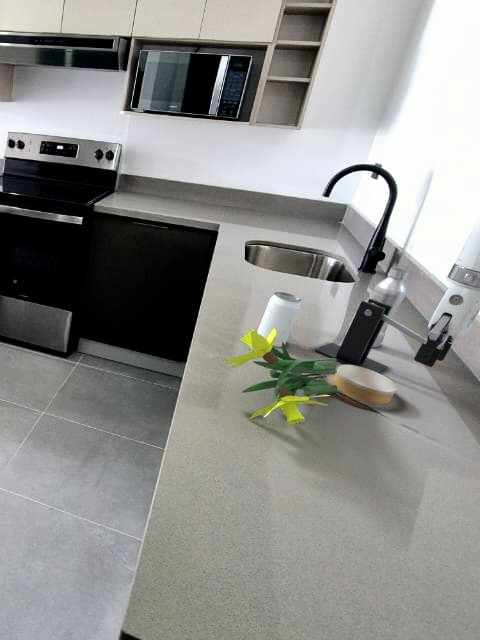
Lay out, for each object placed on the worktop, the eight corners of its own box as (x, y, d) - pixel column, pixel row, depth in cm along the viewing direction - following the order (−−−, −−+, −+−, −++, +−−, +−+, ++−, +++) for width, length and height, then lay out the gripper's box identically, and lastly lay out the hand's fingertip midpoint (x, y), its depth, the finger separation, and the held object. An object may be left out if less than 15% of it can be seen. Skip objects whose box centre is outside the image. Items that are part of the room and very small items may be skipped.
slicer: (385, 371, 113) (416, 311, 107) (369, 379, 108) (401, 317, 102) (330, 347, 122) (355, 291, 115) (313, 354, 116) (339, 295, 110)
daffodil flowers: (377, 417, 94) (316, 429, 71) (292, 417, 105) (214, 428, 81) (363, 328, 97) (299, 312, 73) (281, 337, 107) (203, 326, 84)
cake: (386, 387, 106) (394, 371, 104) (411, 422, 93) (421, 405, 92) (313, 368, 109) (320, 353, 108) (328, 400, 97) (337, 383, 95)
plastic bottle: (348, 344, 125) (384, 268, 117) (349, 336, 130) (383, 263, 122) (378, 353, 122) (417, 277, 114) (378, 345, 127) (415, 271, 119)
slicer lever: (440, 352, 103) (448, 344, 102) (431, 357, 100) (440, 348, 99) (368, 310, 112) (375, 301, 111) (358, 313, 109) (365, 304, 108)
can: (279, 352, 115) (299, 304, 110) (251, 340, 119) (268, 294, 114) (287, 344, 120) (306, 298, 115) (259, 334, 123) (276, 289, 118)
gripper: (487, 290, 88) (436, 378, 95) (510, 281, 98) (462, 361, 105) (436, 275, 93) (391, 359, 101) (462, 268, 103) (420, 345, 110)
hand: (428, 359), depth 103 cm, fingers closed on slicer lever, 5 cm apart
